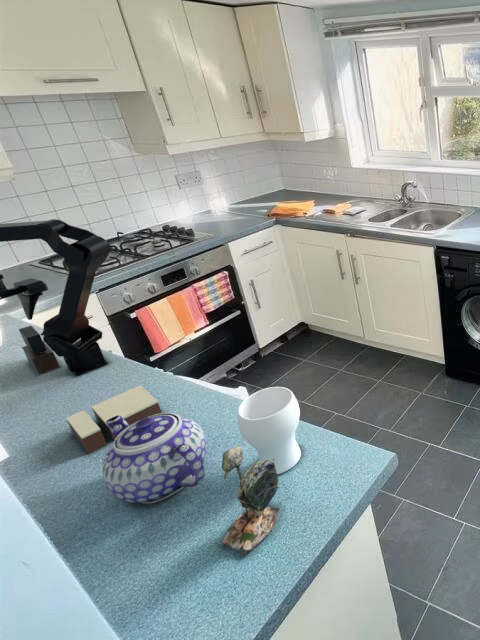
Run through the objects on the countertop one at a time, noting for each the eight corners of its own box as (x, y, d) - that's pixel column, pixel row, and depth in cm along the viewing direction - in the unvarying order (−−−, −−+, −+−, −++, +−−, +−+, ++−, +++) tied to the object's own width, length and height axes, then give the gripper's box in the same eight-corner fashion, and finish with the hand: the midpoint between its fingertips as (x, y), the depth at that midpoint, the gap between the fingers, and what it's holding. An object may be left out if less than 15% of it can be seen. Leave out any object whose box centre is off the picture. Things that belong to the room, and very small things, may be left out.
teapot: (246, 472, 85) (228, 414, 80) (161, 541, 72) (133, 477, 66) (171, 432, 95) (150, 377, 89) (83, 486, 82) (53, 426, 76)
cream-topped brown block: (91, 425, 96) (84, 409, 95) (107, 444, 91) (99, 428, 90) (73, 433, 94) (65, 418, 92) (88, 453, 89) (80, 437, 87)
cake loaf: (145, 399, 104) (140, 385, 103) (163, 416, 99) (157, 400, 98) (98, 422, 97) (91, 406, 95) (114, 440, 92) (107, 424, 91)
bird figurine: (301, 506, 78) (281, 422, 71) (241, 563, 69) (211, 473, 62) (272, 489, 82) (250, 407, 74) (211, 541, 72) (179, 453, 65)
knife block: (49, 355, 121) (42, 340, 119) (60, 367, 116) (53, 351, 114) (29, 362, 118) (21, 347, 116) (39, 374, 113) (31, 359, 111)
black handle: (45, 356, 119) (31, 325, 116) (54, 365, 115) (39, 334, 112) (33, 360, 117) (18, 329, 114) (41, 370, 113) (26, 338, 110)
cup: (319, 451, 90) (307, 395, 85) (272, 490, 81) (256, 430, 76) (287, 433, 95) (274, 378, 89) (239, 468, 86) (222, 409, 81)
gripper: (12, 255, 114) (35, 306, 120) (-98, 282, 98) (-66, 340, 103) (37, 261, 111) (59, 313, 116) (-73, 290, 94) (-41, 349, 100)
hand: (6, 327), depth 109 cm, fingers open, 9 cm apart
